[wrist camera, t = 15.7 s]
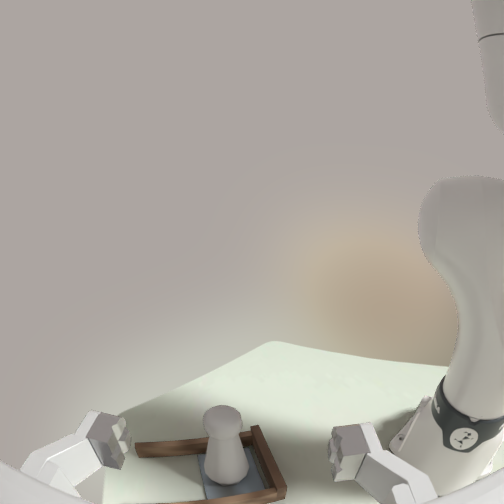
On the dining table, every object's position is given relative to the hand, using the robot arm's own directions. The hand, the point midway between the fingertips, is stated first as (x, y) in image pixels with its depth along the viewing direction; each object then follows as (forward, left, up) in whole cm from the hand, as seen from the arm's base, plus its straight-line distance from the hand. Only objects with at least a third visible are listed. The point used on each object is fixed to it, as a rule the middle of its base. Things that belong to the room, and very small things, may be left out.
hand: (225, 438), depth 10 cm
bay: (-8, -14, -28) cm, 32 cm away
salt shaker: (-10, -12, -28) cm, 32 cm away
